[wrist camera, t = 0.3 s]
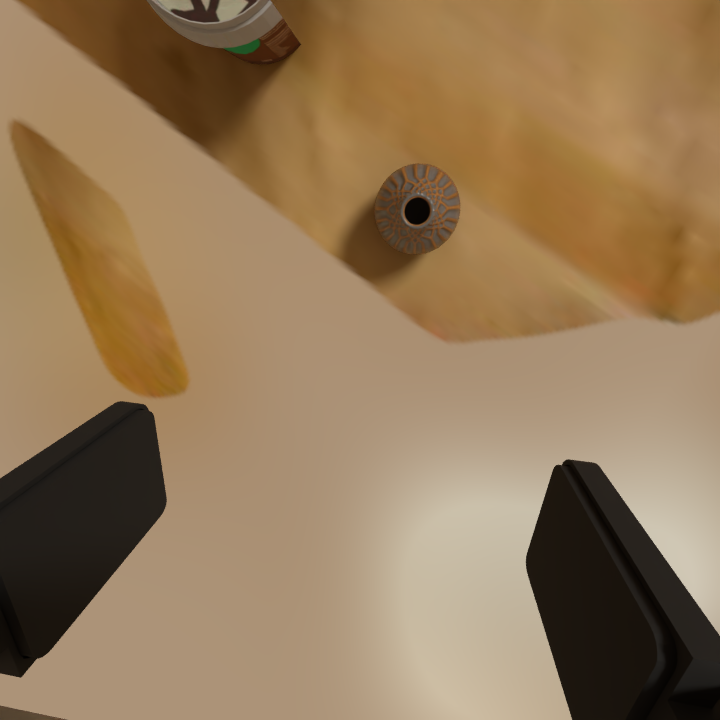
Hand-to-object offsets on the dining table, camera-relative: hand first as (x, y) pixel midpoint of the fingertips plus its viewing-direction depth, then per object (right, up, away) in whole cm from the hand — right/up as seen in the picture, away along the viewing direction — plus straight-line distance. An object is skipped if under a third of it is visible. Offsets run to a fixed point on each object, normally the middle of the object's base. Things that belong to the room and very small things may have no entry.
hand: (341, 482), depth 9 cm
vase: (+6, +17, +26) cm, 32 cm away
